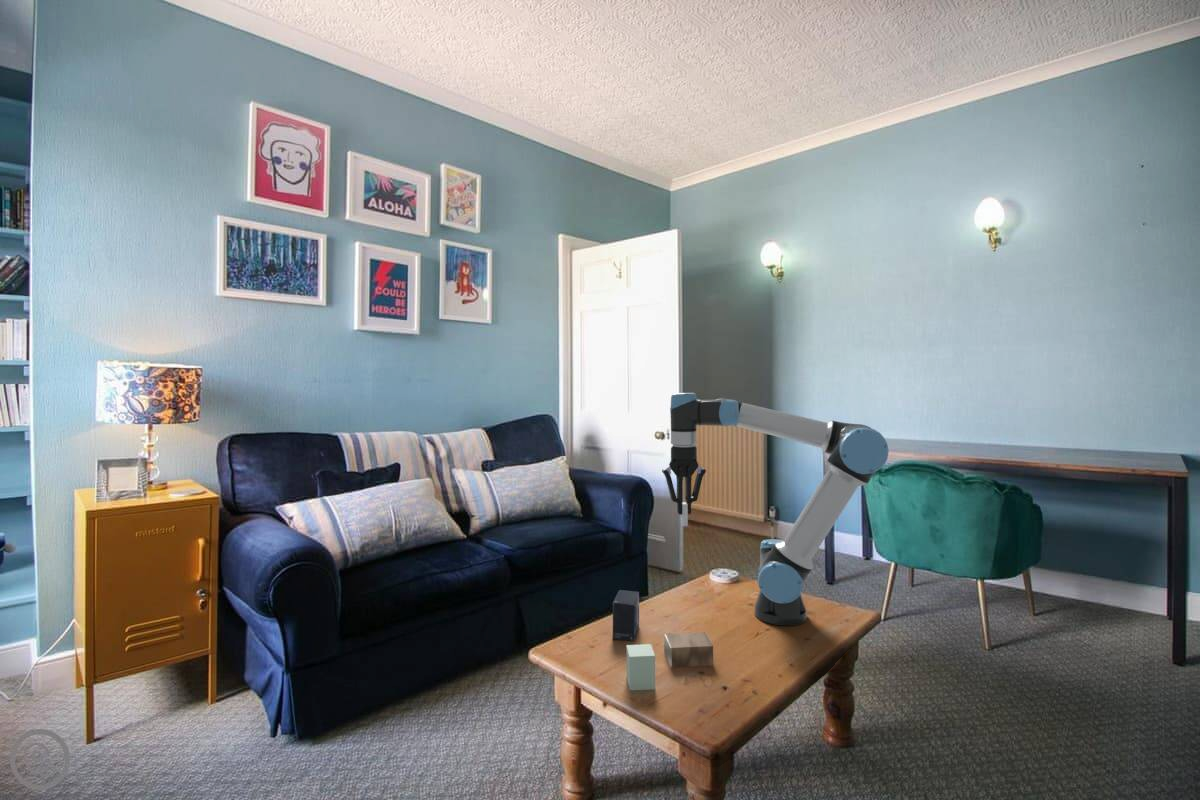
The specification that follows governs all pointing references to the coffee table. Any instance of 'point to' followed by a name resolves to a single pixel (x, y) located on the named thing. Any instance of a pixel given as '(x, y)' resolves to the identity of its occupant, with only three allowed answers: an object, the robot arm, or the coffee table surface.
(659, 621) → the coffee table surface
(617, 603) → the small box
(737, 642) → the coffee table surface
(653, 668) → the sage block
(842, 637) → the coffee table surface
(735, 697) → the coffee table surface
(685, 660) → the walnut block
